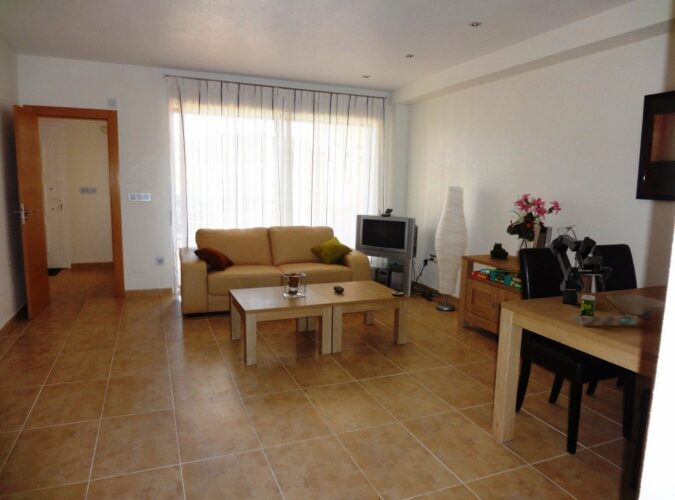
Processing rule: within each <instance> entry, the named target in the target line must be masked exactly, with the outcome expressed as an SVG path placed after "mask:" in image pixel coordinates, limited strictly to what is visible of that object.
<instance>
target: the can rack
mask: <svg viewBox="0 0 675 500" xmlns="http://www.w3.org/2000/svg"><path fill="white" fill-rule="evenodd" d="M571 320H572V321H574V322H575V323H577V324H578V325H580V326H582V327H583V326H588V327H589V326H590V327H591V326H593V327H594V326H597V327H599V326H638V325H639V324H638V323H639V316H638V315H631V314H629V313H625V314H624V315H614V314H612V313H607V315H602V316H601V315H596V314H594V316H581V317H580V315H579V314H577V313H573V314H572V316H571Z"/></svg>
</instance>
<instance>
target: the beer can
mask: <svg viewBox="0 0 675 500" xmlns="http://www.w3.org/2000/svg"><path fill="white" fill-rule="evenodd" d="M595 305H596V296H594V295H589V294H583V295H582V296H581V301H580V313H579V314H580V315H579V316H580V317H581V316H594V315H595V308H596V306H595Z"/></svg>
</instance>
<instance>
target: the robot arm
mask: <svg viewBox="0 0 675 500" xmlns="http://www.w3.org/2000/svg"><path fill="white" fill-rule="evenodd" d="M596 246H597V241H595V240H594V239H593V238H591V237H590V236H584V237H583V240H582V239H576V238H574V237H572V236H571V235H570V234H559V235H558V236H557V237H556V238H554V239H553V240H552V241H551V243H550V244H549V249H550V251H551V253H552V254H553V255H554V256H556V257H557V259H558V262H559V265H560V268H561V271H562V273H563V275H564V278H562V281H561V284H560V286H559V289H560V291H562V293H563V294H562V304H569V305H577V304H578V303H579V293H581V292H582V290H583V288H585V283H584V281H583V278H582V275H583V276H597V277H598V281H599V282H600V284H601V286H602V287H603V289H605V288H606V287H607V286H606V284H607V280H608V279H609V278H610V276H611V275H612V273H613V270H612V268H611V267H610V266H609V267H608V266H607V267H606V266H602V267H600V269H599V270H595V269H596V268H598V267H597V265H598V264H601V263H603V258H602V256H601V255H596V256H594V255H593V256H591V255H592V253H593V251H594V249H595V248H596ZM568 250H569V251H571V253H574V258H573V259H574V261H577V266H572V264H571V261H570V258H569V256H568V253H567V252H568Z"/></svg>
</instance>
